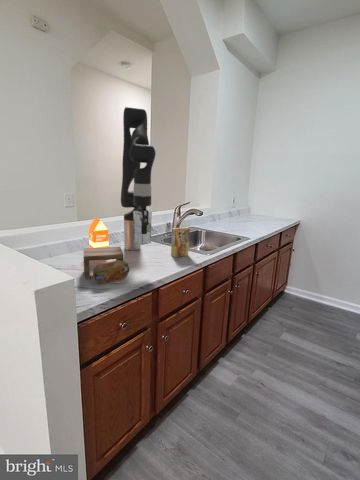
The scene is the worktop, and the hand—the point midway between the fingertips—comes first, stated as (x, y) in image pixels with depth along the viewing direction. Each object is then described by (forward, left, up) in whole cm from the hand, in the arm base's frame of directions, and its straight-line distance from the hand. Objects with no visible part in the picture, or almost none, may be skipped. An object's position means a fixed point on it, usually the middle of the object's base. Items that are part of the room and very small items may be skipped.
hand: (142, 231), depth 121 cm
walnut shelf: (-2, -17, -19) cm, 25 cm away
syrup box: (0, 0, -5) cm, 5 cm away
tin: (+8, -14, -19) cm, 25 cm away
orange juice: (-28, -18, -19) cm, 38 cm away
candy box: (-19, +24, -19) cm, 36 cm away
